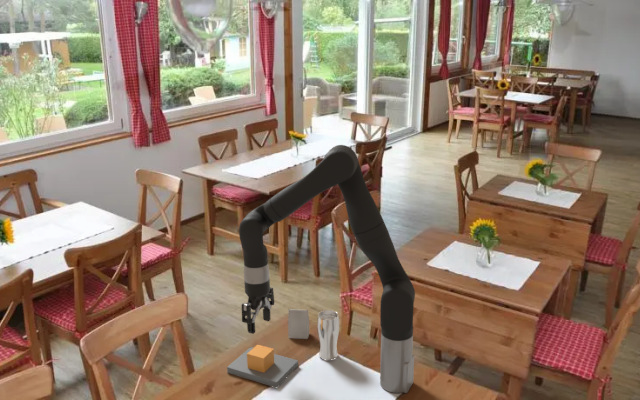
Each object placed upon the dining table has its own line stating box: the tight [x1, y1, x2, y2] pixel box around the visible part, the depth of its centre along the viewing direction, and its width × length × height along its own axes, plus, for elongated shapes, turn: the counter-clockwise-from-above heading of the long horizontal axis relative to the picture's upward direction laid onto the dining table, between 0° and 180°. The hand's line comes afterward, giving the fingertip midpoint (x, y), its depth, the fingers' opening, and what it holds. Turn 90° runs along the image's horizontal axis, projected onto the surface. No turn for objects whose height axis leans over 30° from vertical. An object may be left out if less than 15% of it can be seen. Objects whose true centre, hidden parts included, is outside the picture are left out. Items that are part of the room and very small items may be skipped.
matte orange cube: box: [247, 344, 275, 373], centre depth 183 cm, size 6×6×5 cm
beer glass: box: [316, 309, 340, 360], centre depth 190 cm, size 7×7×15 cm
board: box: [226, 347, 299, 388], centre depth 185 cm, size 18×13×6 cm
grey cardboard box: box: [287, 308, 310, 340], centre depth 204 cm, size 4×7×10 cm, turn 83°
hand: (259, 326), depth 180 cm, fingers open, 8 cm apart
